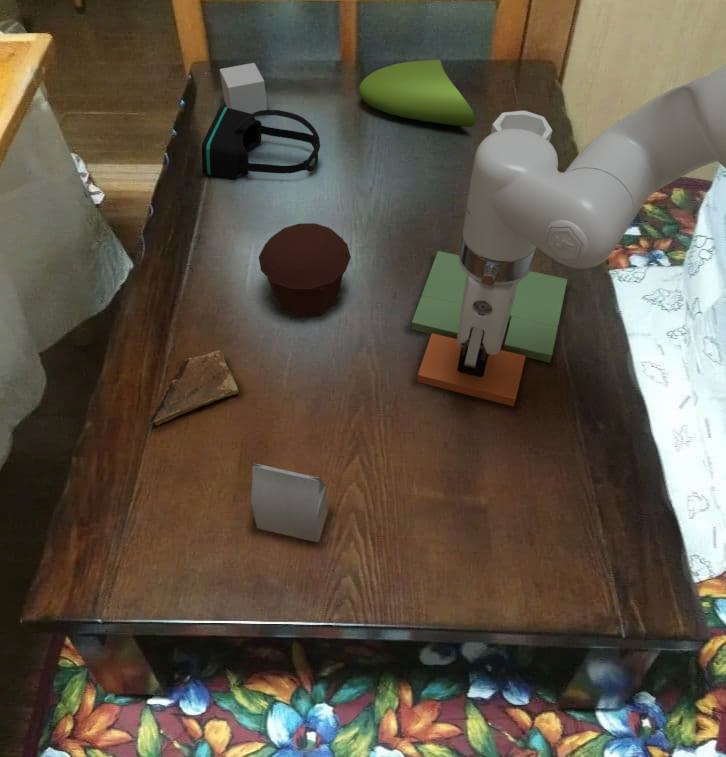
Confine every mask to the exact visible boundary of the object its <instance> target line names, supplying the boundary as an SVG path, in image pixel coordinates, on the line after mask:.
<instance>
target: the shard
mask: <svg viewBox="0 0 726 757" xmlns="http://www.w3.org/2000/svg"><path fill="white" fill-rule="evenodd" d="M239 393H240V392H239V388H238V385H237V384H236V381H235V379H234V376H233V374H232V371H231V370H230V369H229V367H228V365H227V363H226V360H225V358H224V354H223V353H222V351H220V350H214V351H212V352H209V353H206V354H204V355H200V356H195V357H187V356H186V357H185V358H184V360H183V361H182V364H181V365H180V366H179V368H178V370H177V372H176V373H175V375H174V376H173V378H172V380H171V382H170V383H169V385H168V387H167V389H166V391H165V392H164V395H163V396H162V398H161V400H160V403H159V405H158V407H157V408H156V411H155V412H154V413H153V415H152V417H151V419H150V420H149V424H150V423H151V424H152V423H153V424H155V426H159V425H161V424H163V423H165V422H168V421H171V420H173V419H174V418H176V417H179V416H182V415H184V414H186V413H189V412H192V411H194V410H196V409H198V408H200V407H202V406H205V405H206V406H207V405H209V404H211V403H214V402H215V401H218V400H221V399H225V398H228V397H231V396H235V395H238V394H239Z"/></svg>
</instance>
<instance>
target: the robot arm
mask: <svg viewBox="0 0 726 757" xmlns="http://www.w3.org/2000/svg"><path fill="white" fill-rule="evenodd" d="M714 163H719V164H720V165H721V166H722V167H723V168H724V169H726V64H725V65H723V66H721V67H720V68H718V69H716V70H715V71H713V72H712V73H710V74H708V75H705V76H703V77H702V76H701V77H699V78H696V79H694V80H692V81H689V82H686V83H685V84H681V85H678V86H676V87H674V88H672V89H669V90H667V91H665V92H662V93H661V94H659V95H658V96H656V97H654V98H652V99H650V100H649V101H648V102H646V103H645V104H643V105H641V106H640V107H639V108H636V109H635V110H634V111H632V112H631V113H629V114H627V115H626V116H625V117H623V118H621V119H620V120H618V121H616V122H615V123H614V124H612V125H611V126H609V127H608V128H606V129H605V130H604V131H602V132H601V133H599V134H597V136H595V137H594V138H593V139H592V140H591V141H589V142H588V144H587V145H585V146H584V147H583V149H582V150H581V151H580V152H579V153H578V154H577V156H576V157H575V158H574V159H573V160H572V162H571V163H570V164H569V165H568V167H567V168H566V169H565V171H564V172H561V171H559V169H558V168H559V159H558V153H557V151H556V149H555V147H554V145H553V144H552V143H551V142H549V141H548V140H547V139H545V138H544V137H542V136H541V135H539V134H537V133H535V132H532V131H528V130H524V129H505V130H500V131H497V132H494V133H492V134H491V133H490V134H489V135H488V136H486V137H485V138H483V140H482V141H481V142H480V144H479V145H478V147H477V148H476V151H475V154H474V158H473V164H472V170H471V175H470V176H471V177H470V185H469V189H468V196H467V201H466V208H465V213H464V214H465V215H464V221H463V227H462V233H461V241H460V247H459V251H458V252H459V253H458V255H459V262H460V265H461V267H462V269H463V270H464V271H465V272H466V273H467V277H466V282H465V288H464V294H463V300H462V306H461V313H460V319H459V327H458V335H457V343H458V345H459V346H460V347H461V346H463V347H462V348H461V352H460V358H459V363H458V368H457V370H458V371H459V372H461V373H465V374H468V375H472V376H477V377H483V376H484V372H485V368H486V363H487V359H488V356H489V354H490V355H497V354H498V353H499V352H500V350H502V345H503V343H504V342H503V341H504V337H505V335H506V331H507V328H508V324H509V323H508V320H509V316H510V312H511V309H512V305H513V301H514V297H515V293H516V289H517V285H518V282H519V281H521V280H523V279H524V278H525V277H526V276H527V275H528V274H529V272H530V271H531V270H532V267H533V262H534V259H535V255H536V251H537V249H539V250H540V251H541V252H542V253H544V254H545V255H547V256H548V257H550V258H551V259H552V260H554V261H555V262H557V263H560V264H561V265H563V266H566V267H568V268H572V269H578V270H586V269H592V268H595V267H598V266H599V265H601V264H602V263H604V262H605V261H606V260H607V259H608V258H609V257H610V256H611V255H612V254H613V252H614V250H615V249H616V248H617V246H618V245H619V243H620V241H621V240H622V238H623V237H624V235H625V234H626V232H627V231H628V229H629V228H630V226H631V224H632V223H633V221H634V220H635V218H636V216H637V215H638V213H639V212H640V210H641V209H642V208H643V206H644V204H645V203H646V202H647V200H648V198H649V197H650V196H651V195H653V194H654V193H656V192H657V191H658V190H661V189H662V188H664V187H665V186H667V185H669V184H671V183H673V182H674V181H676V180H678V179H681V178H682V177H685V176H686V175H688V174H690V173H693V172H695V171H696V170H698V169H701V168H702V167H706V166H708V165H710V164H714ZM480 345H482V346H483V349H481V348H480Z"/></svg>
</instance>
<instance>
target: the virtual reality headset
mask: <svg viewBox="0 0 726 757" xmlns="http://www.w3.org/2000/svg"><path fill="white" fill-rule="evenodd" d="M260 116H261V117H262V116H278V117H282V118H287V119H291V120H294V121H296V122H298V123H300V124H302V125H303V126H304V127H305V128H307V129H308V130H309V131H310V133H312V134H310V133H306V132H300V131H295V130H290V129H282V128H276V127H270V126H265V125H262V124H263V123H262V122H261V120H260V119H259V120H258V119H256V117H260ZM262 135H265V136H270V137H277V138H282V139H283V138H284V139H288V140H289V139H290V140H295V141H300V142H305V143H308V144H310V145H311V146H312V148H313V150H312V152H311V154H310V155H309V156H308V158H307V159H305V160H303V161H302V162H301V163H297V164H292V165H291V164H289V165H279V164H278V165H277V164H269V163H267V164H266V163H252V162H249V152H250V151H251V150H253V149H255V148H257V147H258V146H260V145H261V143H262ZM320 140H321V139H320V136H319V133H318V132H317V130H316V128H315V127H314V126H313V124H311V123H310V122H309V121H308V120H307V119H306V118H304V117H303V116H300V115H299V114H296V113H293V112H290V111H285V110H279V109H267V110H261V111H258V112H255V113H253V114H250V113H247V112H243V111H239V110H235V109H231V108H227V106H223V105H220V107H219V108H218V110H217V112H216V114H215V116H214V117H213V120H212V123H211V124H210V126H209V129H208V131H207V132H206V134H205V137H204V139H203V140H202V144H201V164H202V165H201V166H202V167H201V168H202V173H203V174H206V175H212V176H218V177H223V178H230V179H236V178H238V177H239V176H241V175H243V176H248V174H249V172H254V173H266V174H267V173H268V174H295V173H299V172H302V171H307V172H308V173H311V172H313V171H314V170H315V168H316V166H317V164H318V162H319V152H320V149H321V141H320ZM313 160H314V165H311V163H312V162H313Z"/></svg>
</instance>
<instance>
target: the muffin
mask: <svg viewBox="0 0 726 757" xmlns="http://www.w3.org/2000/svg"><path fill="white" fill-rule="evenodd" d="M351 258H352V256H351V253H350V249H349V246H348V243H347V242H346V241H345V240H344V238H342V236H340V235H339V234H338V233H337V232H336V231H334V230H333V229H332V228H331V227H328V226H325V225H322V224H319V223H316V222H315V223H313V222H312V223H309V222H307V223H304V222H303V223H296V224H293V225H289V226H287V227H283V228H282V229H281V230H279V231H278V232H276V233H275V234H274V235H272V236H271V237H270V238H269V239H268V240H267V241H266V242H265V243H264V246H263V248H262V250H261V252H260V254H259V255H258V263H259V268H260V272H261V273H263V275H264V276H265V277H266V278H267V280H268V283H269V287H270V289H271V293H272V296H273V297H274V299H275V300H276V302H277V304H278V306H279V308H280V311H282V312H286V313H289V314H291V315H293V316H294V317H297V318H299V319H300V318H305V317H320V316H322V315H323V314H324V313H326V312H327V311H328V310H329V309H332V308H333V307H336V305H337V299H338V296H339V294H340V291H341V286H342V283H343V276H344V274H345V273H346V271H347V268H348V267H349V264H350V261H351Z"/></svg>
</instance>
